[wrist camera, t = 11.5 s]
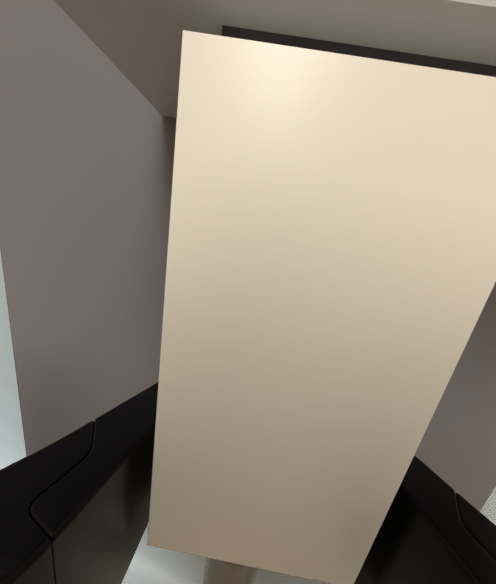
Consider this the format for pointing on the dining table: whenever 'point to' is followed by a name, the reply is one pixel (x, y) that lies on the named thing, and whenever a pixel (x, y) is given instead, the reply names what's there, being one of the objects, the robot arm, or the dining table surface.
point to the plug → (312, 296)
